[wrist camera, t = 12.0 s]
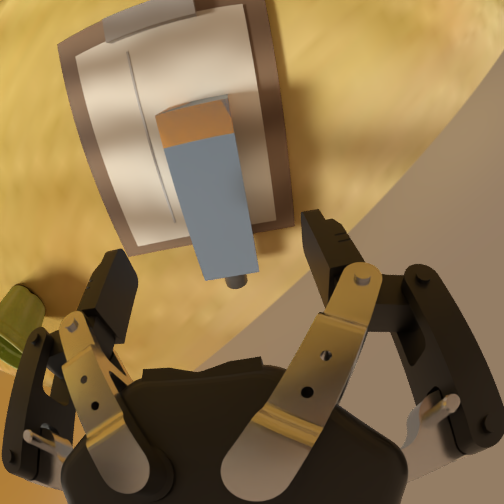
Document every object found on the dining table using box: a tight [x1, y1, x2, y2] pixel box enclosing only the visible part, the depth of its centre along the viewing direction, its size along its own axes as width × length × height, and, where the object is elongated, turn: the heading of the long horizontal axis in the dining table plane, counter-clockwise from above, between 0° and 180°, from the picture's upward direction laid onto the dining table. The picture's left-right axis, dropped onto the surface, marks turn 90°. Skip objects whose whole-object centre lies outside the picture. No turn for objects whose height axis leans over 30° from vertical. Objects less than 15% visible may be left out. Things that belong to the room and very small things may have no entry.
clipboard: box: [57, 0, 295, 257], centre depth 16 cm, size 20×15×2 cm
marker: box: [155, 94, 259, 289], centre depth 18 cm, size 14×4×4 cm, turn 8°
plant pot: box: [0, 285, 45, 369], centre depth 23 cm, size 9×9×9 cm
